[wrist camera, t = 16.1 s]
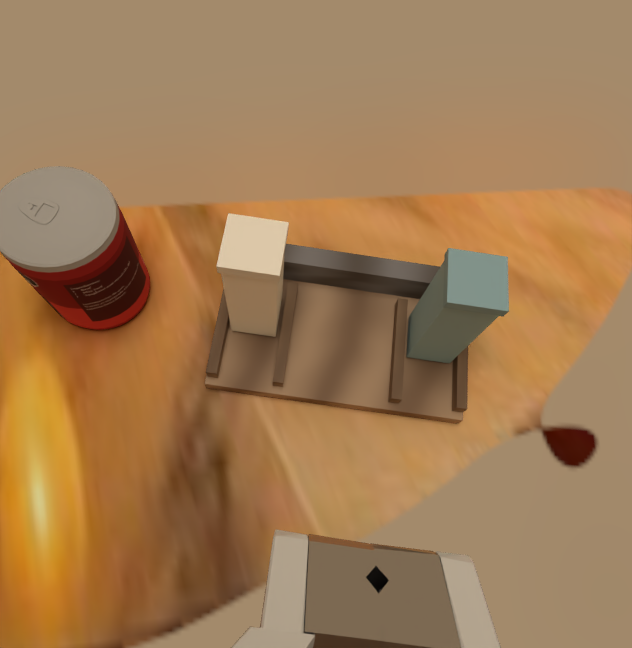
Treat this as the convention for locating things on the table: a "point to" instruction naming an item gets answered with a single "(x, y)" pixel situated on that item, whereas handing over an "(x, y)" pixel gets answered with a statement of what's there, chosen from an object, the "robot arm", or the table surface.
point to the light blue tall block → (458, 305)
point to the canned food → (73, 246)
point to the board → (342, 341)
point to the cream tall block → (253, 272)
